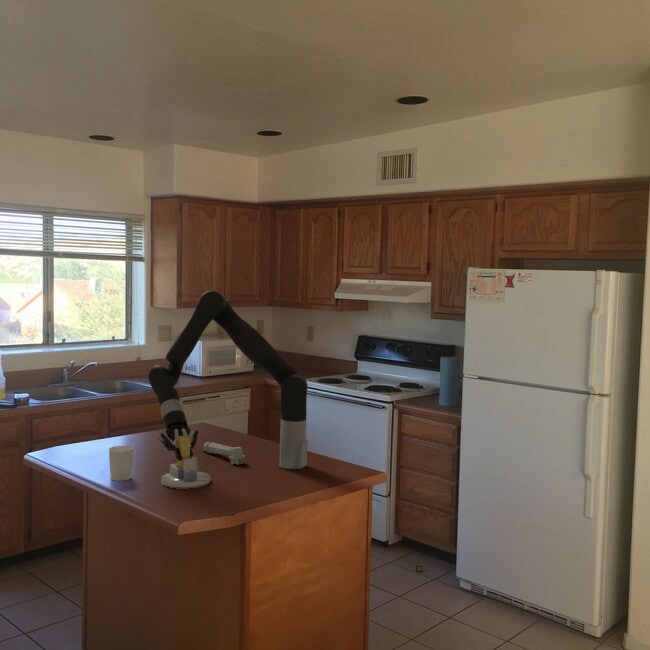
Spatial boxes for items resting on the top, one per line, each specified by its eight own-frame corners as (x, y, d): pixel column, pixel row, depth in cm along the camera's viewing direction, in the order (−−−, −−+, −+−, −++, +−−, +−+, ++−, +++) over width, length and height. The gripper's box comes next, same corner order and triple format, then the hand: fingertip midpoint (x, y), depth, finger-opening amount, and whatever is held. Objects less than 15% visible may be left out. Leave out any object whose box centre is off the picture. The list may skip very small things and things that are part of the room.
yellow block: (176, 471, 232) (176, 436, 231) (184, 470, 233) (185, 435, 232) (181, 475, 228) (182, 439, 227) (189, 474, 229) (190, 438, 228)
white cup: (120, 483, 224) (120, 452, 224) (103, 478, 228) (103, 448, 228) (138, 477, 231) (139, 448, 230) (122, 473, 235) (122, 444, 235)
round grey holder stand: (154, 478, 231) (154, 452, 230) (199, 473, 239) (200, 448, 238) (170, 491, 217) (171, 464, 216) (218, 485, 225) (219, 458, 225)
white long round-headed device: (212, 440, 272) (247, 444, 252) (213, 457, 271) (248, 463, 252) (200, 442, 268) (235, 446, 249) (201, 459, 268) (235, 465, 249)
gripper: (156, 410, 232) (167, 455, 222) (195, 407, 239) (208, 451, 230) (150, 423, 237) (161, 467, 227) (189, 420, 244) (202, 463, 234)
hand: (185, 459), depth 228 cm, fingers closed on yellow block, 2 cm apart
